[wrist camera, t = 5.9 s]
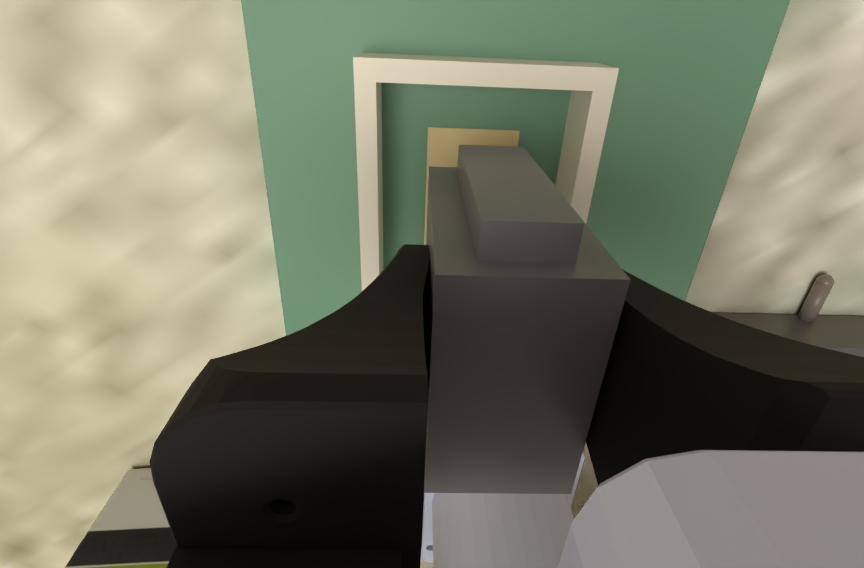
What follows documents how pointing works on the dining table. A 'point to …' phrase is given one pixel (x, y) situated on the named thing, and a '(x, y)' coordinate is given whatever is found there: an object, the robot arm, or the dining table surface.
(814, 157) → the dining table surface
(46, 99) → the dining table surface
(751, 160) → the dining table surface
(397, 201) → the board
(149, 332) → the dining table surface
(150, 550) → the tea box
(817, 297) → the grey flat block
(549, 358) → the plug
